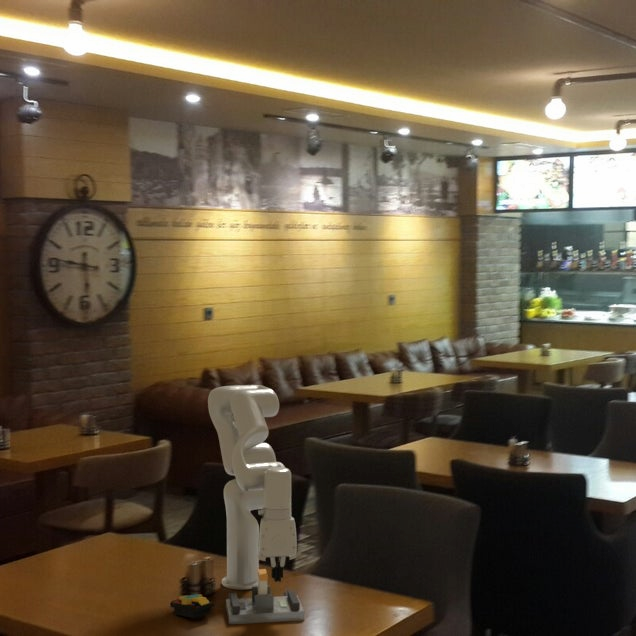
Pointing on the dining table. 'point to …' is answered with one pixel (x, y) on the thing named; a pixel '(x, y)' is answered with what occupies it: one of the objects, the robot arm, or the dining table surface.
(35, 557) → the dining table surface
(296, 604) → the pair of grey posts
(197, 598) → the black basket
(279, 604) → the panel
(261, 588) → the lever
